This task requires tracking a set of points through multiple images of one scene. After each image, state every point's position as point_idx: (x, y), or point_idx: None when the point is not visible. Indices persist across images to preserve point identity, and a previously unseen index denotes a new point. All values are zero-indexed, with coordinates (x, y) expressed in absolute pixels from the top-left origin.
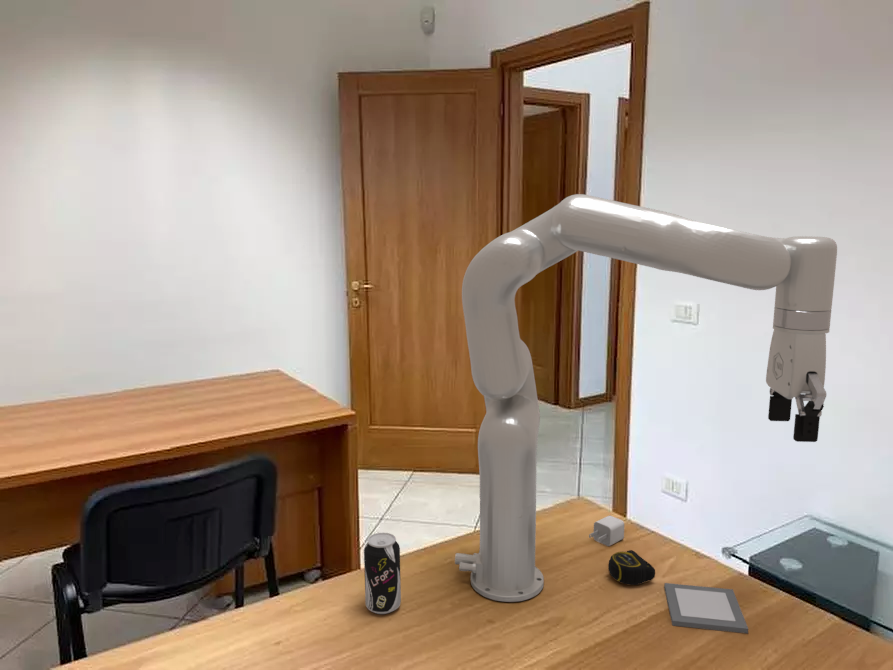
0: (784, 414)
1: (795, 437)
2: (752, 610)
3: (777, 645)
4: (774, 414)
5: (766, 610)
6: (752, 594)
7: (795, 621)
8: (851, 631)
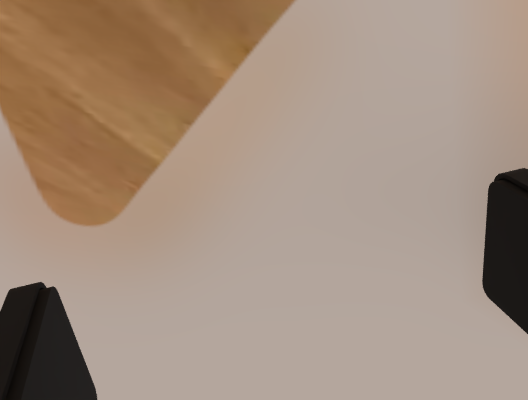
0: (514, 285)
1: (5, 303)
2: (156, 8)
3: (29, 37)
4: (521, 220)
5: (166, 40)
6: (226, 20)
7: (140, 93)
8: (138, 188)
